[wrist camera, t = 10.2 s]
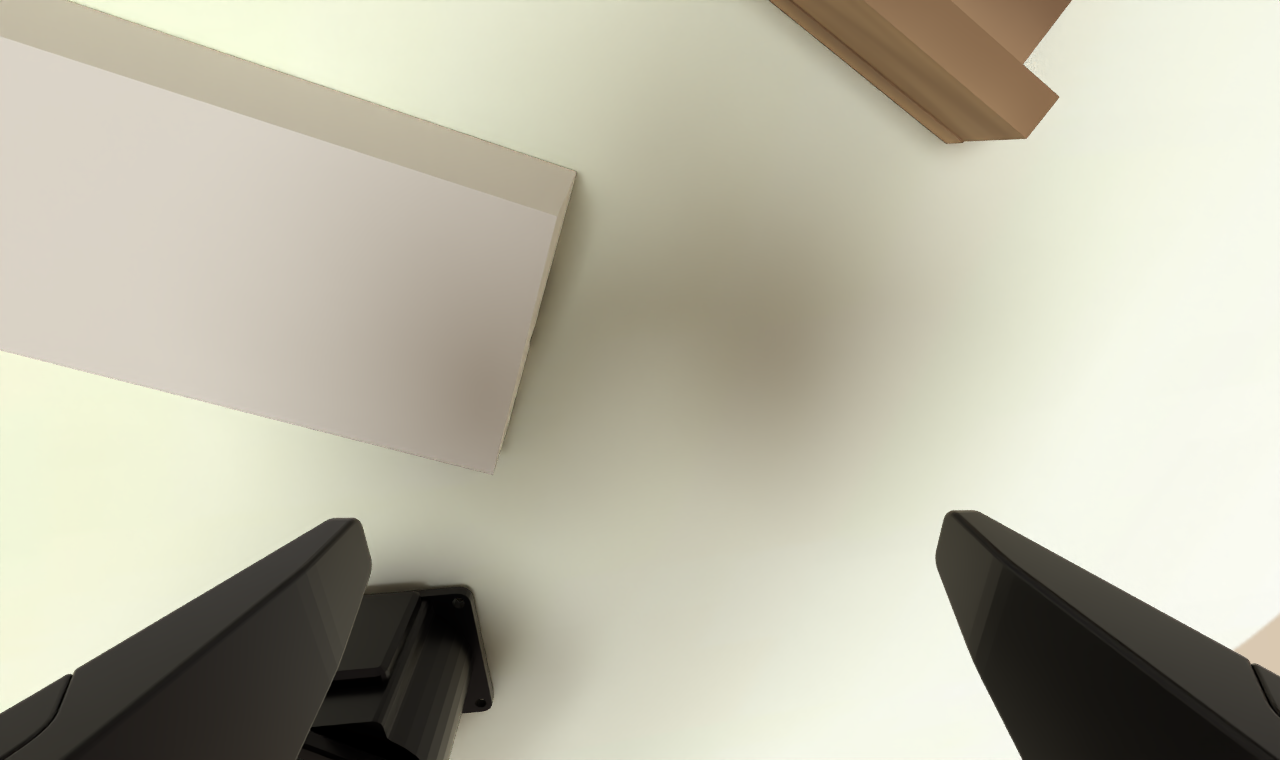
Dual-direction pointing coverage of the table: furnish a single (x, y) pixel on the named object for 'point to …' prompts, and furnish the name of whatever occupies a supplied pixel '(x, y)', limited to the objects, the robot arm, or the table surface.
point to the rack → (943, 58)
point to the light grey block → (263, 238)
